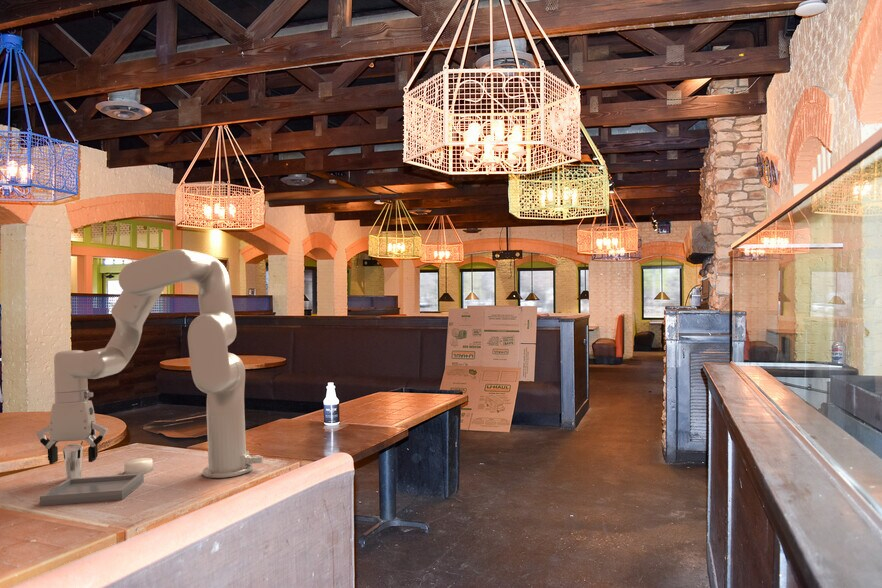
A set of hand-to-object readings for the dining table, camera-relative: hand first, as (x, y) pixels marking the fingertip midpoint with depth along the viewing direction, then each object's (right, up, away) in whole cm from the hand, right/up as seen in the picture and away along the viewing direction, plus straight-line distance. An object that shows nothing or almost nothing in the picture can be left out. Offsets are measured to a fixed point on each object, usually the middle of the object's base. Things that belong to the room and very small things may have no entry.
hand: (73, 461), depth 164 cm
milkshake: (+1, -5, 0) cm, 5 cm away
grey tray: (+13, -4, -14) cm, 19 cm away
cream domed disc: (+15, -4, +5) cm, 16 cm away
